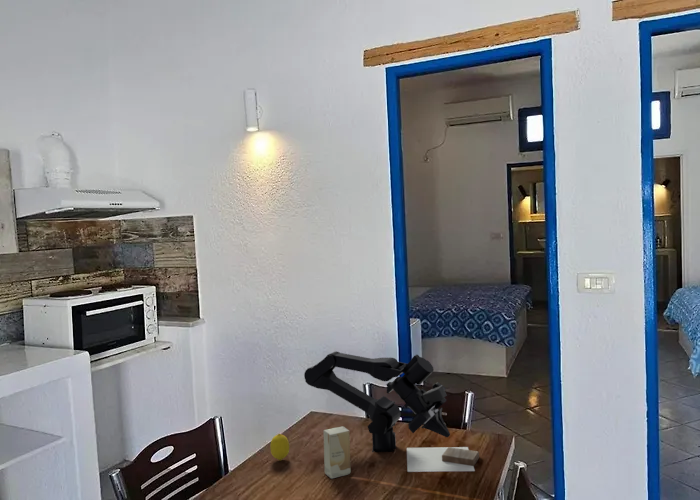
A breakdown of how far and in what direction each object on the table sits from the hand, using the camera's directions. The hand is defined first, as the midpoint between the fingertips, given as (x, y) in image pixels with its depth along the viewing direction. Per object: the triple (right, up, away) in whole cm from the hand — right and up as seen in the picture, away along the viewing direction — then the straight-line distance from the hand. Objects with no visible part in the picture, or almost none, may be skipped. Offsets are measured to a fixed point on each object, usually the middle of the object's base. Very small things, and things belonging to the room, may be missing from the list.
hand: (449, 436), depth 162 cm
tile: (-1, -5, +1) cm, 6 cm away
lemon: (-48, -9, +6) cm, 50 cm away
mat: (-3, -7, 0) cm, 8 cm away
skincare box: (-31, -9, -5) cm, 33 cm away
